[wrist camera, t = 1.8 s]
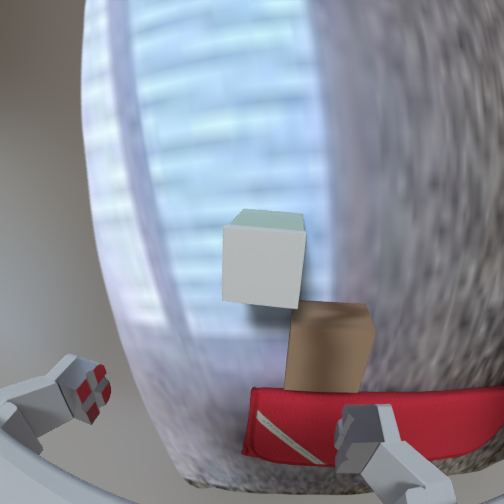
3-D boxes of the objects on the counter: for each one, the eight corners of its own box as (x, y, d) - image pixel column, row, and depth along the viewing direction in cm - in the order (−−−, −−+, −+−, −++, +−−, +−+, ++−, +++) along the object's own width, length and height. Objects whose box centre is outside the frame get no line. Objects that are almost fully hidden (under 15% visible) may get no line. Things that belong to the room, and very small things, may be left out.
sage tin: (304, 212, 25) (306, 234, 18) (298, 269, 27) (297, 309, 20) (242, 207, 26) (223, 227, 19) (240, 264, 27) (222, 300, 21)
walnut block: (365, 303, 27) (376, 331, 22) (351, 360, 29) (357, 392, 24) (292, 298, 28) (291, 327, 23) (286, 357, 30) (283, 389, 25)
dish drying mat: (473, 443, 33) (479, 458, 29) (243, 445, 37) (238, 464, 33) (520, 378, 27) (530, 392, 24) (254, 370, 32) (249, 393, 28)
